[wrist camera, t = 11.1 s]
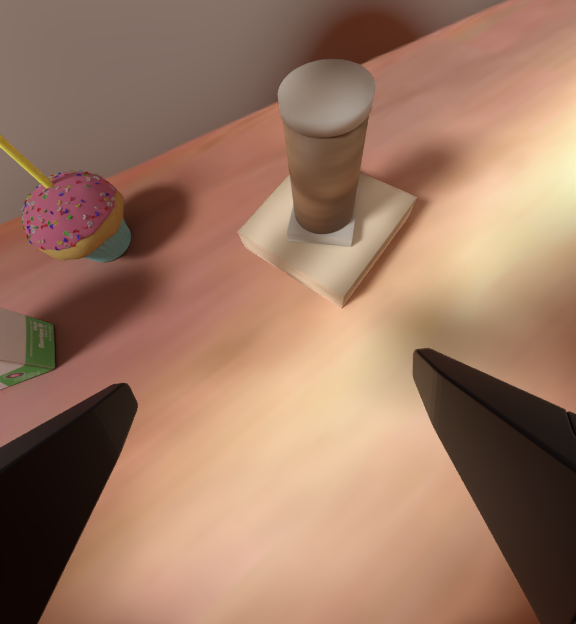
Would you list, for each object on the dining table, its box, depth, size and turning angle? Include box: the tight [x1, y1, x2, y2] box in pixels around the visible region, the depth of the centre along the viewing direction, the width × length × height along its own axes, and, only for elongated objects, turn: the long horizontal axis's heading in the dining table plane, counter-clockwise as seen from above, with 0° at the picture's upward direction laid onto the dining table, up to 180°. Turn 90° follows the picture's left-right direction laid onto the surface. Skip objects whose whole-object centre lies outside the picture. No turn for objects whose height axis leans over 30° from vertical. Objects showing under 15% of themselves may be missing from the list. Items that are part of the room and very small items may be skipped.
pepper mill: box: [278, 59, 375, 247], centre depth 19 cm, size 5×5×10 cm
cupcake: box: [0, 135, 131, 262], centre depth 23 cm, size 9×8×12 cm
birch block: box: [238, 172, 417, 308], centre depth 25 cm, size 11×11×3 cm
